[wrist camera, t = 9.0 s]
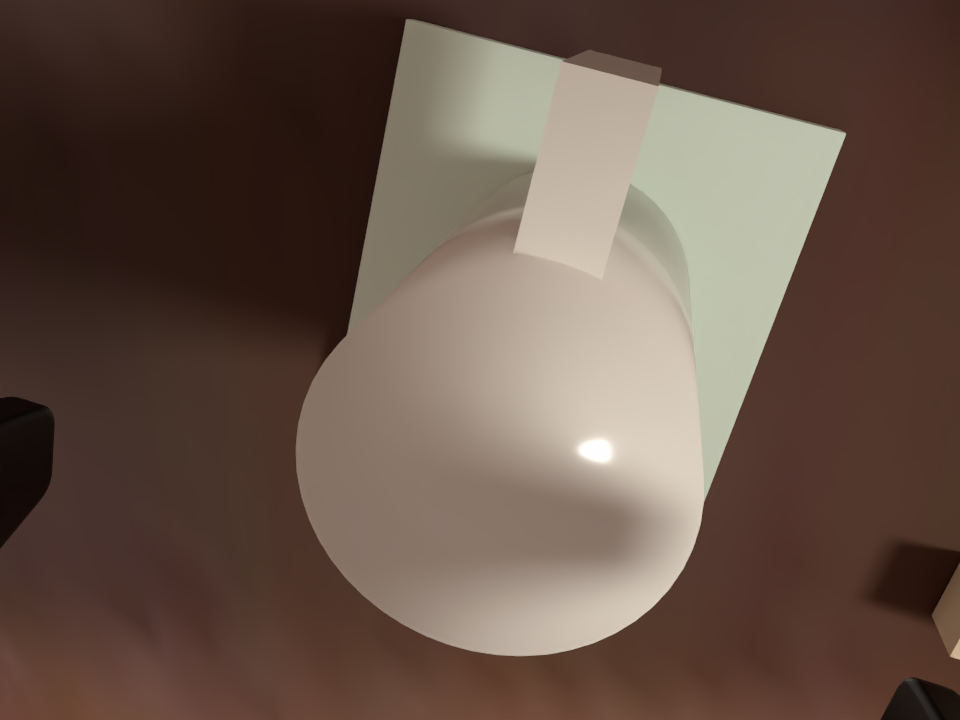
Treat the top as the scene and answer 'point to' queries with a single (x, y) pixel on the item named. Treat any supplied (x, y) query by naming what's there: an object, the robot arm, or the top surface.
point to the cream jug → (523, 402)
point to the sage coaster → (658, 173)
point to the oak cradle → (950, 615)
